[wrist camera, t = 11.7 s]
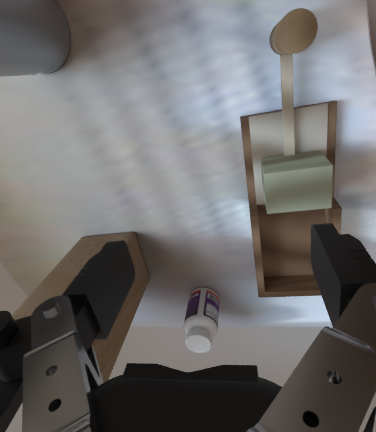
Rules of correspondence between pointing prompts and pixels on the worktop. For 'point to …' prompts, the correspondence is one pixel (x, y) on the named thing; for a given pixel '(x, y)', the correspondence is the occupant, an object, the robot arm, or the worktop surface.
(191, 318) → the pill bottle
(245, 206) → the worktop surface
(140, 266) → the wooden block
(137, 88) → the worktop surface
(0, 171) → the worktop surface
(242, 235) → the worktop surface
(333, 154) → the lane
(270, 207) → the string block
